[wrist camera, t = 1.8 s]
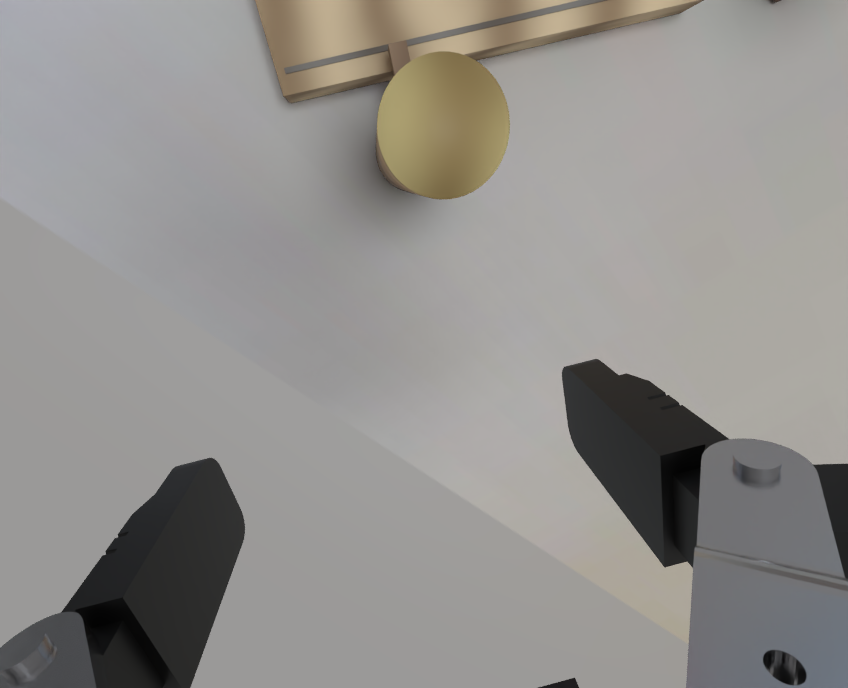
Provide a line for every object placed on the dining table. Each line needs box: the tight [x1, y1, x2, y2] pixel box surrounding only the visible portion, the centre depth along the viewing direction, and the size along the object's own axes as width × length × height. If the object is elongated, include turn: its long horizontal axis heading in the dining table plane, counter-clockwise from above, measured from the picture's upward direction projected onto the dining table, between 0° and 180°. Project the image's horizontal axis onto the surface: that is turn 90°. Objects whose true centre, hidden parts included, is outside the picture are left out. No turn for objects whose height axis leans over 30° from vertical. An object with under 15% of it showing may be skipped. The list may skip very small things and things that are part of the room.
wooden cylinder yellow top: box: [376, 40, 510, 199], centre depth 23 cm, size 5×8×15 cm, turn 12°
